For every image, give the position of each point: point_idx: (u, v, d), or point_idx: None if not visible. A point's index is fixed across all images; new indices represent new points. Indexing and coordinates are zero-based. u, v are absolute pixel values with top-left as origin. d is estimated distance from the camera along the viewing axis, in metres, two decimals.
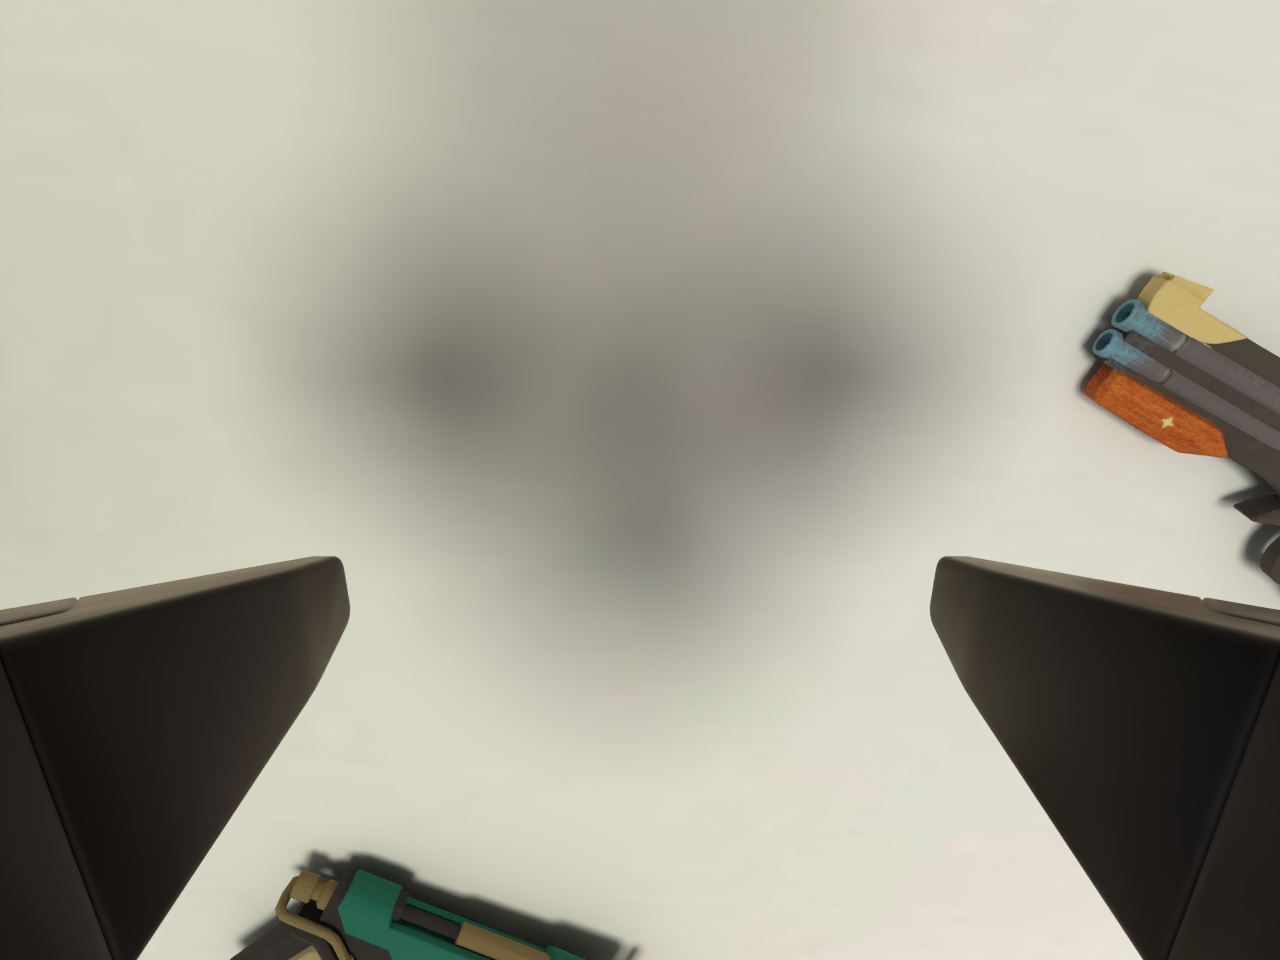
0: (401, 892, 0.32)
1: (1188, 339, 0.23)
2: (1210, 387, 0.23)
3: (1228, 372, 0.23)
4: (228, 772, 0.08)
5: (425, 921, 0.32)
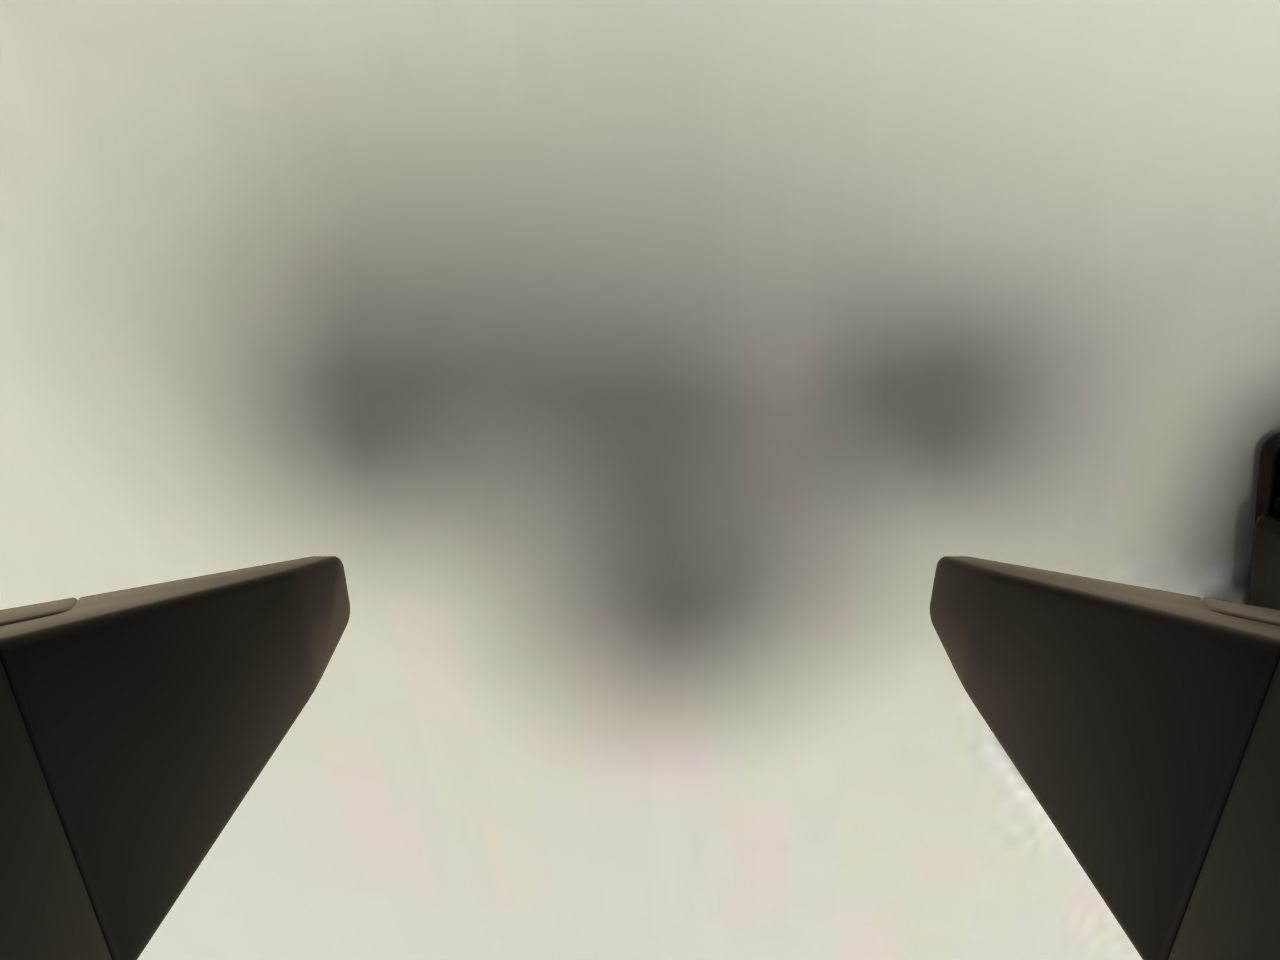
0: None
1: None
2: None
3: None
4: (228, 772, 0.08)
5: None
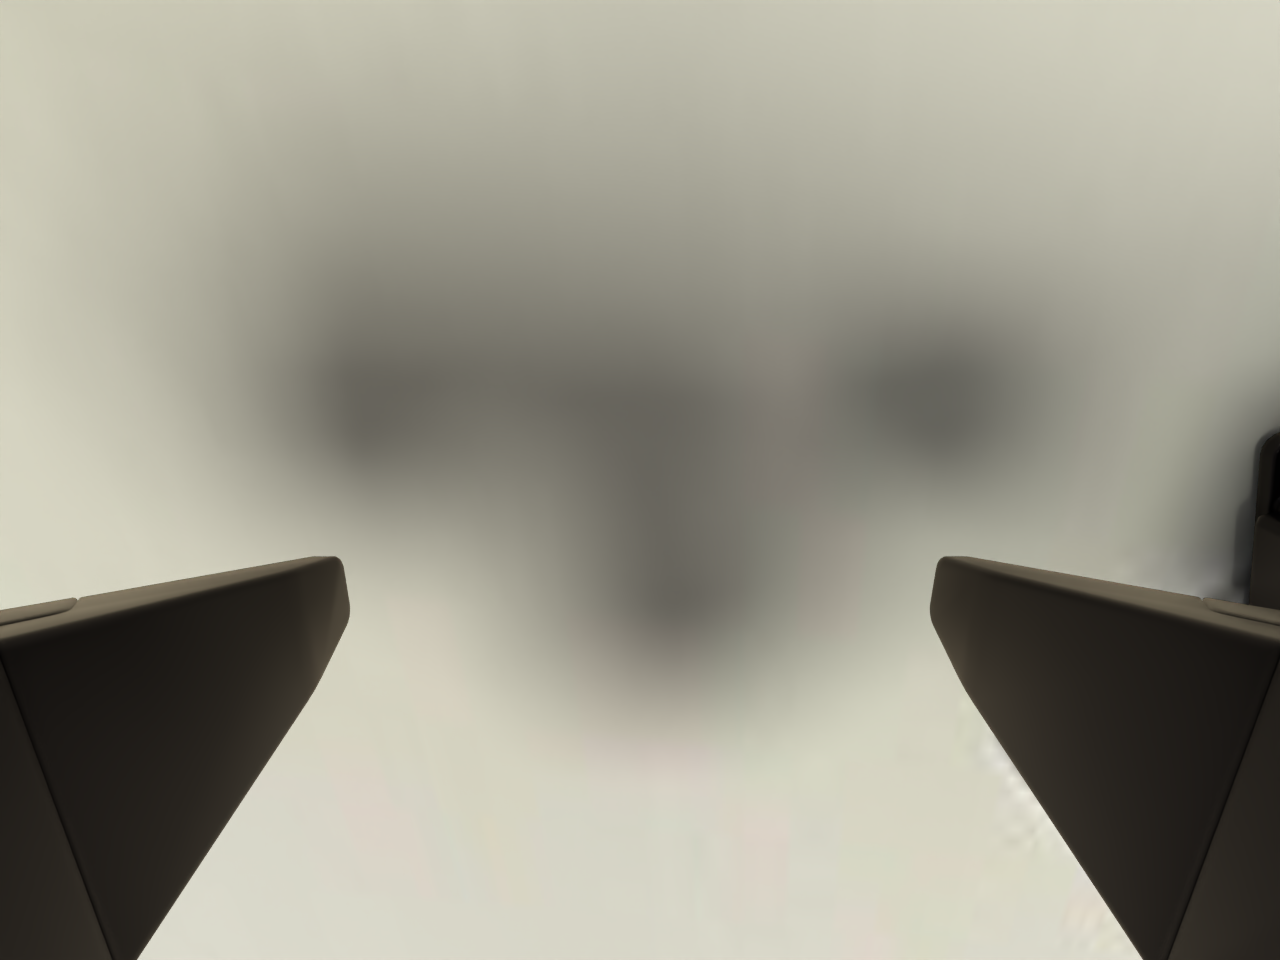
0: None
1: None
2: None
3: None
4: (228, 772, 0.08)
5: None
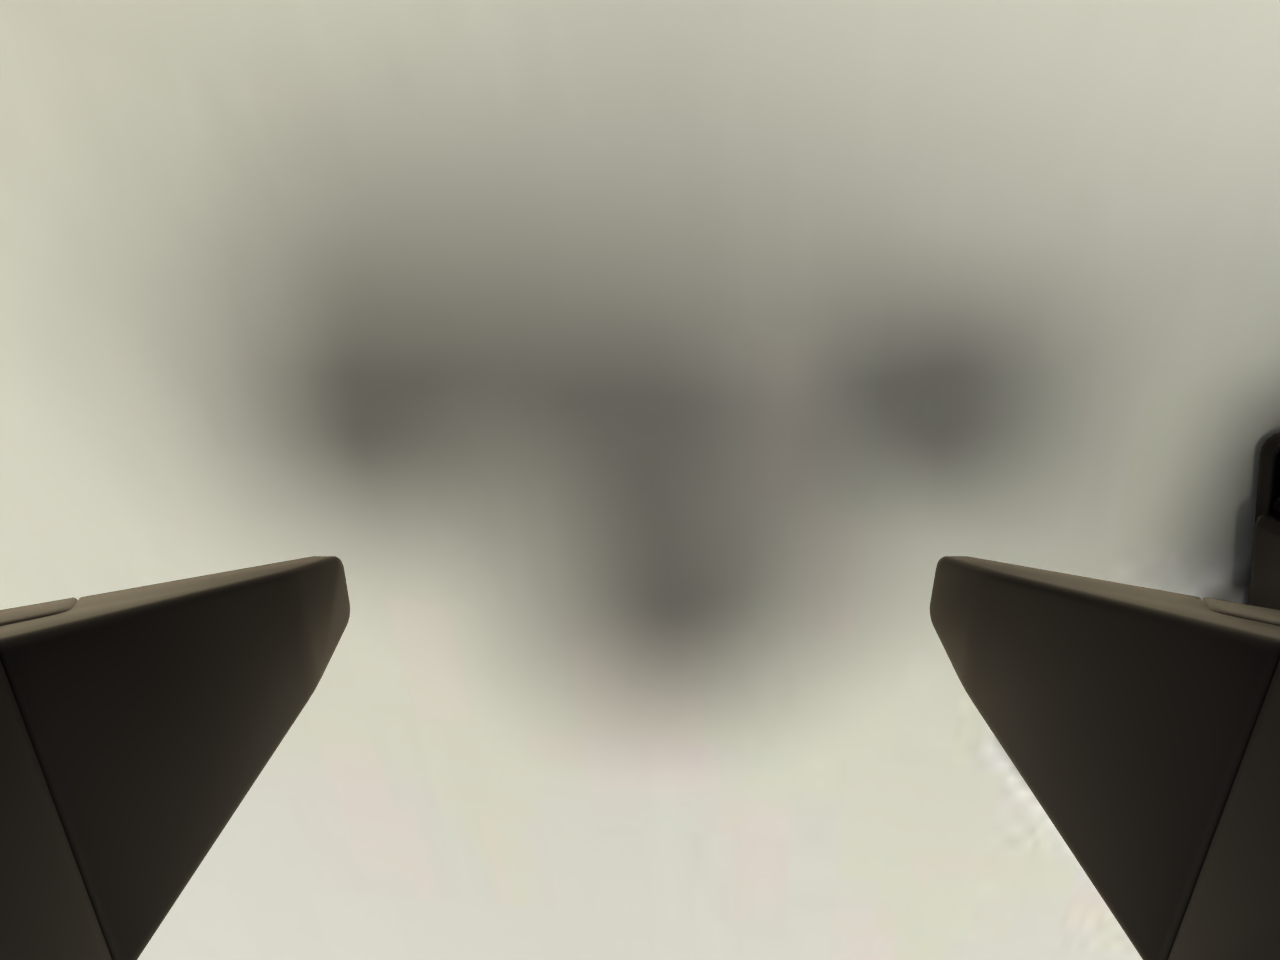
0: None
1: None
2: None
3: None
4: (228, 772, 0.08)
5: None
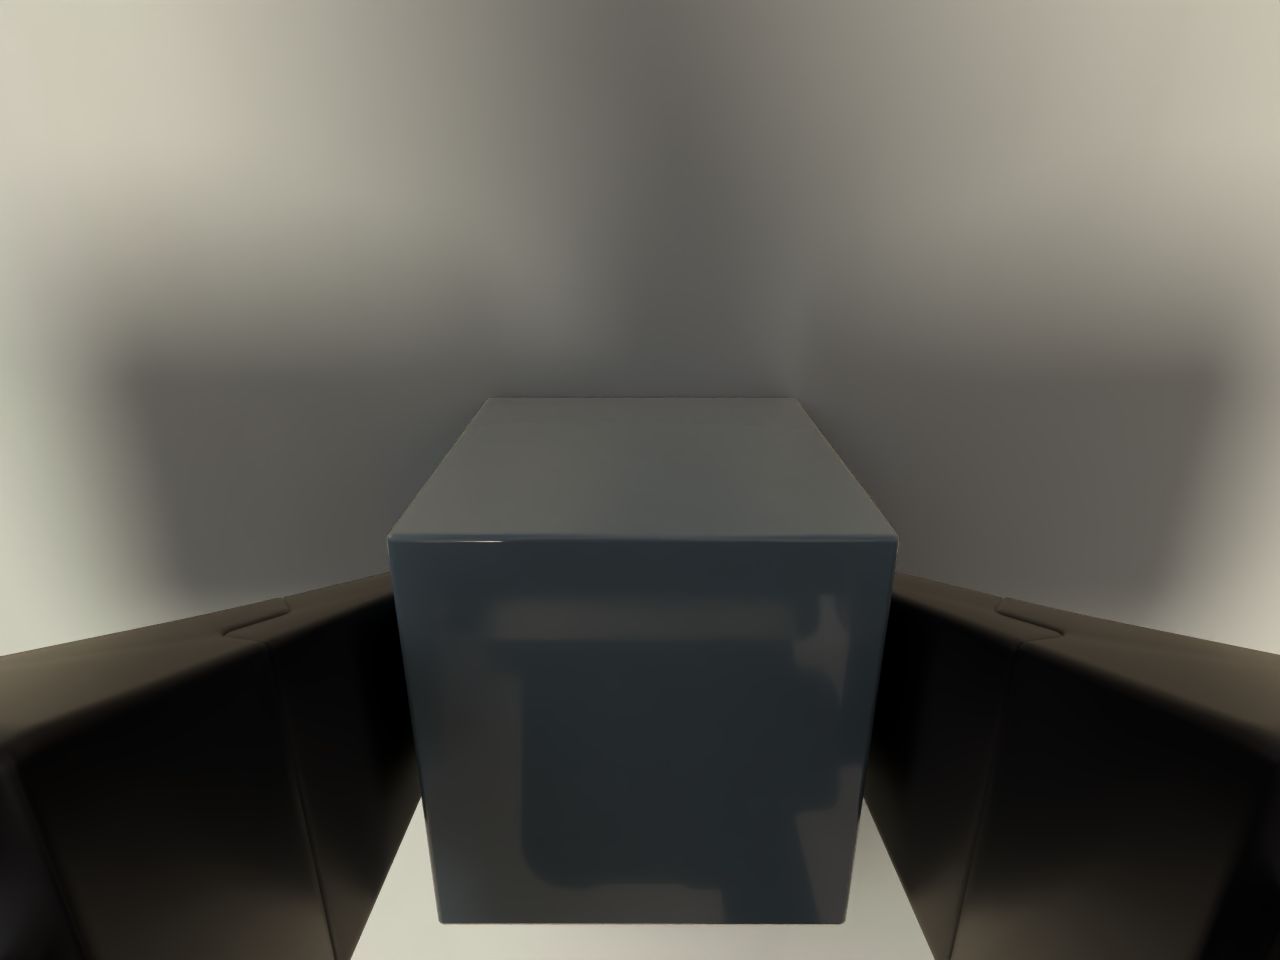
0: None
1: None
2: None
3: None
4: (411, 772, 0.08)
5: None
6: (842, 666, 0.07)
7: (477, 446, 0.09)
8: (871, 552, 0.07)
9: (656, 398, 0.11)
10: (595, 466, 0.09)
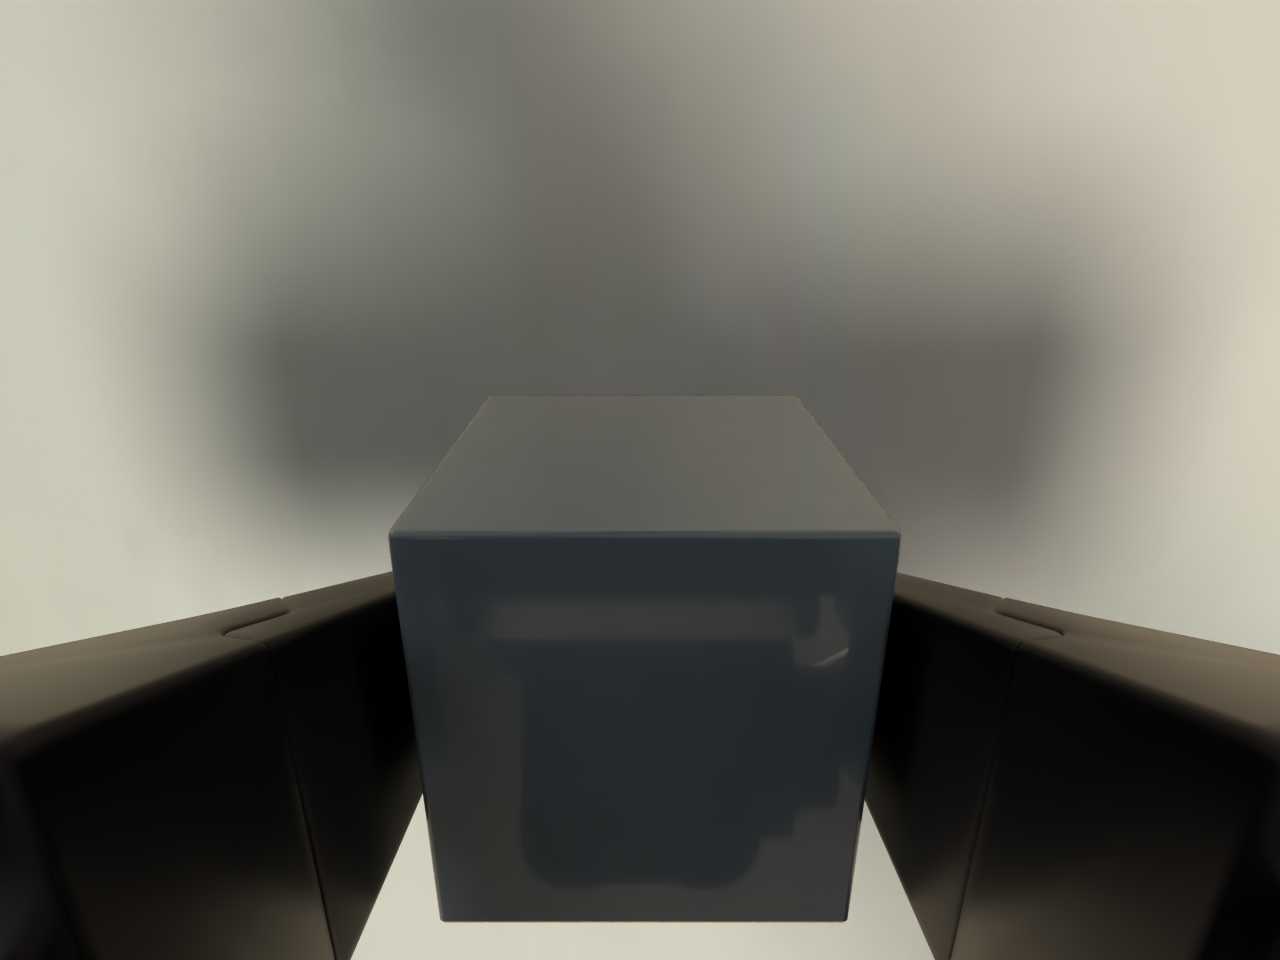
0: None
1: None
2: None
3: None
4: (411, 772, 0.08)
5: None
6: (844, 663, 0.07)
7: (479, 444, 0.09)
8: (874, 549, 0.07)
9: (657, 396, 0.11)
10: (597, 463, 0.09)
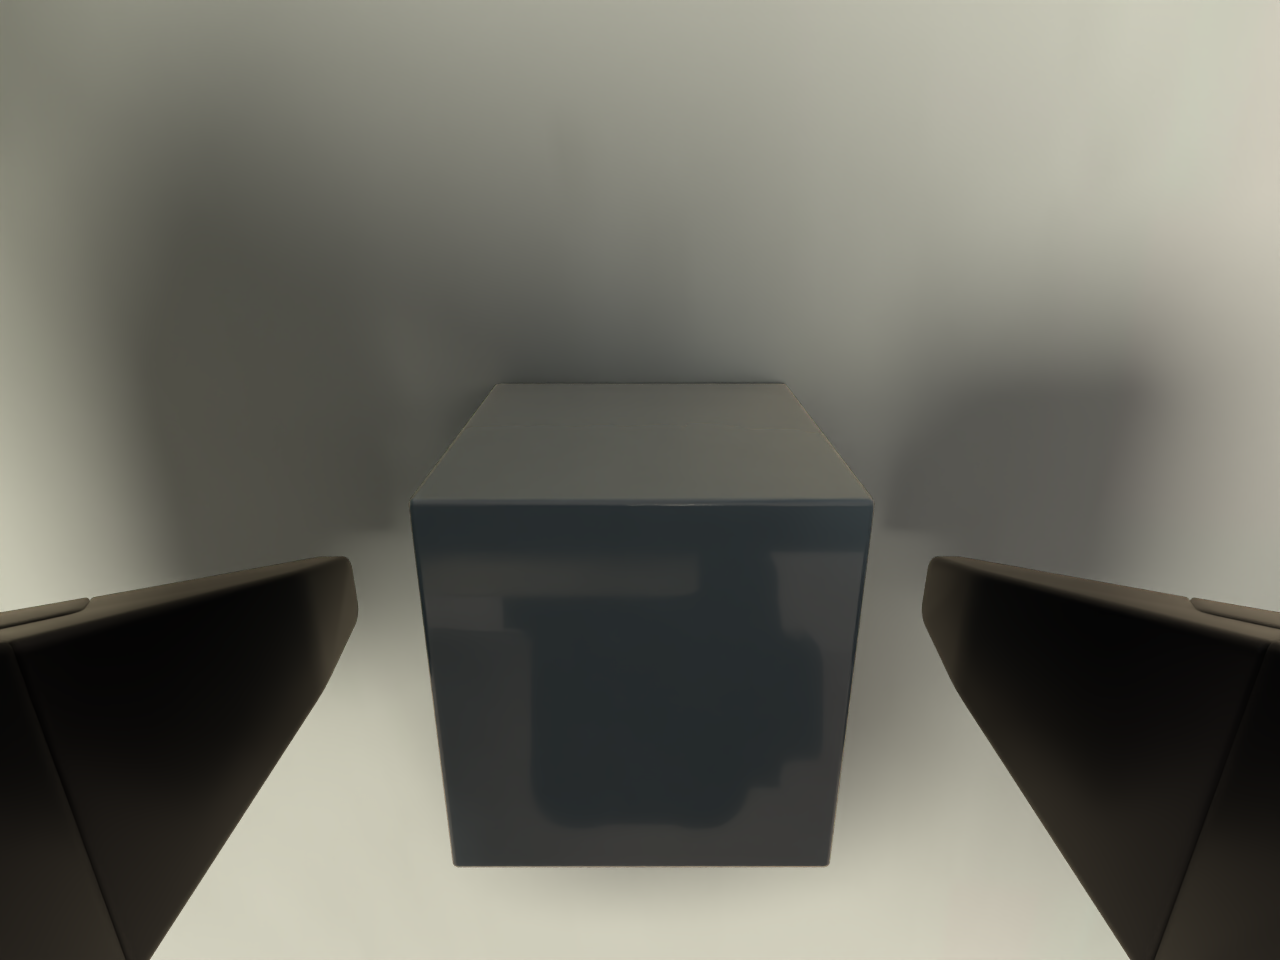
0: None
1: None
2: None
3: None
4: (239, 772, 0.08)
5: None
6: (824, 621, 0.08)
7: (488, 425, 0.10)
8: (849, 515, 0.08)
9: (654, 384, 0.12)
10: (598, 443, 0.09)
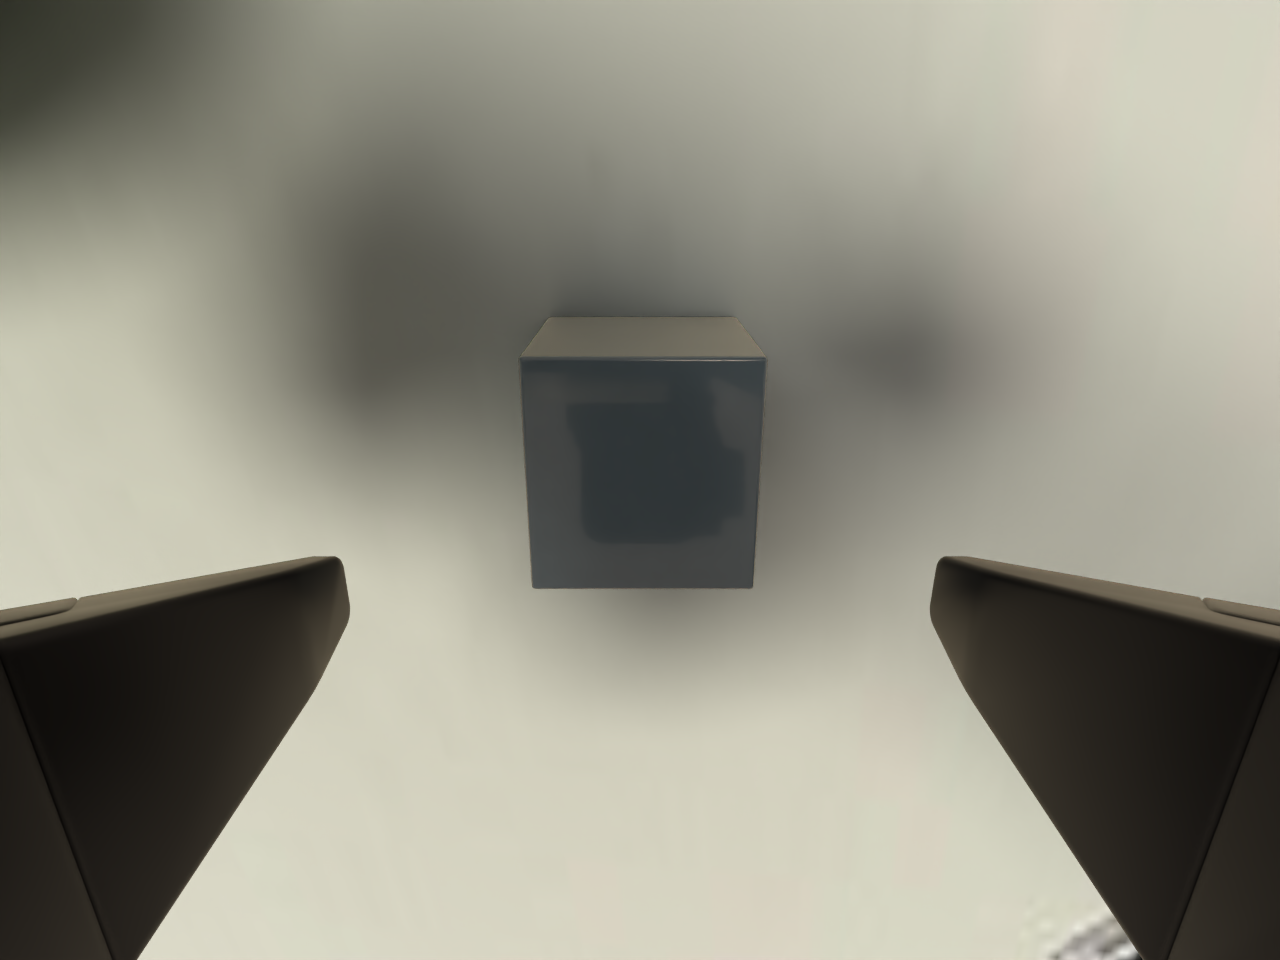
0: None
1: None
2: None
3: None
4: (228, 772, 0.08)
5: None
6: (743, 429, 0.15)
7: (551, 333, 0.17)
8: (753, 365, 0.14)
9: (651, 317, 0.19)
10: (617, 339, 0.16)
